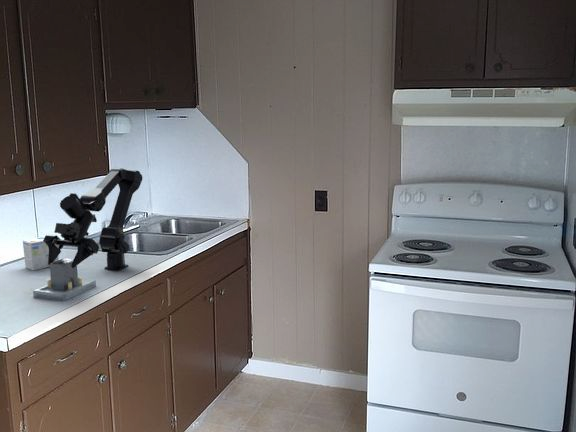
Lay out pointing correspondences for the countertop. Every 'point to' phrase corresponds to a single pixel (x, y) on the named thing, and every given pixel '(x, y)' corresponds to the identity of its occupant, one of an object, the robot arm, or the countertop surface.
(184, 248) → the countertop surface
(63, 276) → the block
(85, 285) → the dock
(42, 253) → the light bulb box
